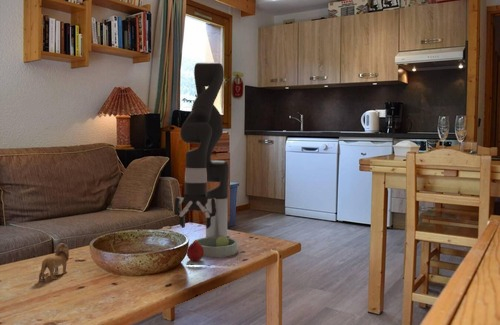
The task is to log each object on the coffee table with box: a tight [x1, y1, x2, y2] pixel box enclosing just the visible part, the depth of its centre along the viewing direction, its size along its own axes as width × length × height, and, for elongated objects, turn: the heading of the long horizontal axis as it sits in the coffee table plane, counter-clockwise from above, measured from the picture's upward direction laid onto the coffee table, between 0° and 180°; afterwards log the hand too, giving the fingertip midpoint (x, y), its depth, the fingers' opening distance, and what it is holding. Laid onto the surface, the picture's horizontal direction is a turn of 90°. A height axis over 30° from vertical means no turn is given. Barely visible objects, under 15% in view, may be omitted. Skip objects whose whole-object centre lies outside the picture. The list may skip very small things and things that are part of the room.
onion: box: [186, 239, 204, 263], centre depth 150 cm, size 6×6×8 cm
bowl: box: [196, 236, 239, 258], centre depth 163 cm, size 16×16×4 cm
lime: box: [216, 236, 229, 247], centre depth 165 cm, size 5×5×5 cm
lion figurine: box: [38, 242, 70, 283], centre depth 134 cm, size 15×5×9 cm, turn 1°
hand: (195, 227), depth 149 cm, fingers open, 8 cm apart
